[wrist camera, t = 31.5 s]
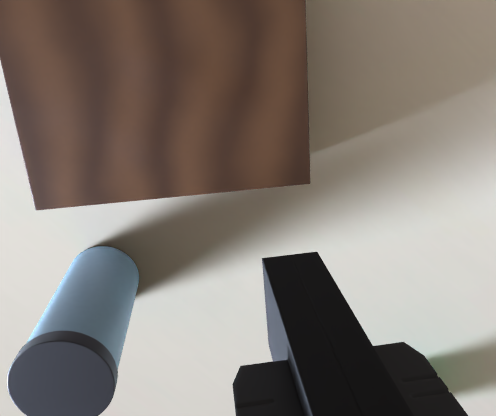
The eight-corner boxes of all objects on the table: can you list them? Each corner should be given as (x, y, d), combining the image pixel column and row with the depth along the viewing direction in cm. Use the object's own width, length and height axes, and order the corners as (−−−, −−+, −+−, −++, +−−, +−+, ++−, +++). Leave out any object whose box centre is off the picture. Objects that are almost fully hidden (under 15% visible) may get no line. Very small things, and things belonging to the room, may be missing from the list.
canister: (62, 301, 45) (0, 418, 31) (73, 237, 43) (14, 332, 29) (132, 314, 46) (104, 433, 32) (147, 253, 44) (124, 351, 30)
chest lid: (38, 207, 35) (35, 210, 35) (-19, -42, 30) (-24, -44, 29) (308, 181, 37) (310, 184, 36) (301, -61, 31) (303, -63, 31)
